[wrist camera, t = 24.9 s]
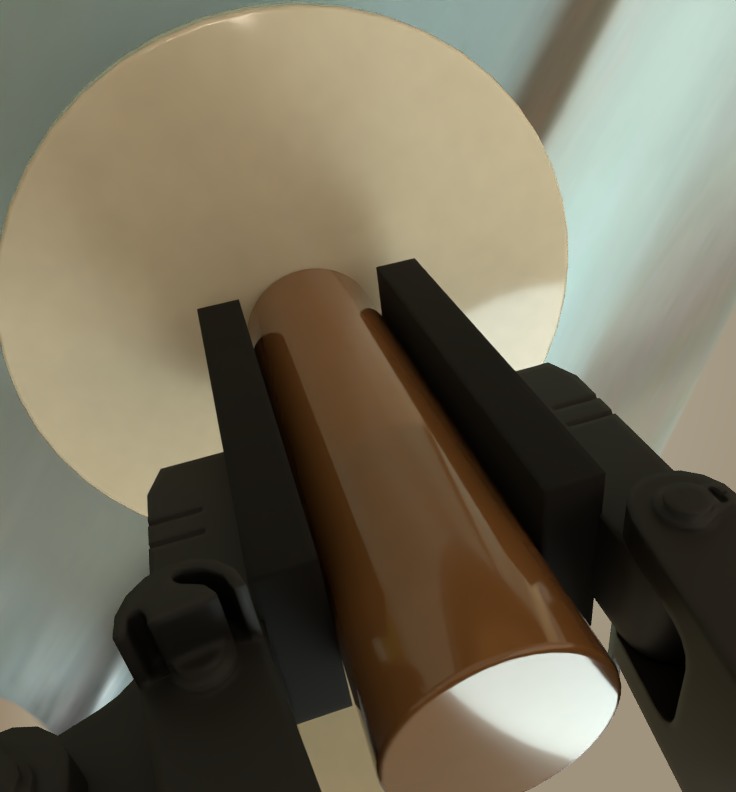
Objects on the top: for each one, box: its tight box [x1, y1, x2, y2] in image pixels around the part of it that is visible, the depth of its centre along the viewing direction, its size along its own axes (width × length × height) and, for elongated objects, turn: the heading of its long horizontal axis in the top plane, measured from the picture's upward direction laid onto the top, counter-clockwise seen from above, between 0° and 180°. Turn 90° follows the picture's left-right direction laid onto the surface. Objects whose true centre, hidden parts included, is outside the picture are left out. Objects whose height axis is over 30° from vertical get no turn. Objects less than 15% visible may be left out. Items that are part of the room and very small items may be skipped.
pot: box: [297, 665, 384, 792], centre depth 24 cm, size 10×10×12 cm
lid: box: [0, 2, 621, 792], centre depth 11 cm, size 11×11×10 cm
